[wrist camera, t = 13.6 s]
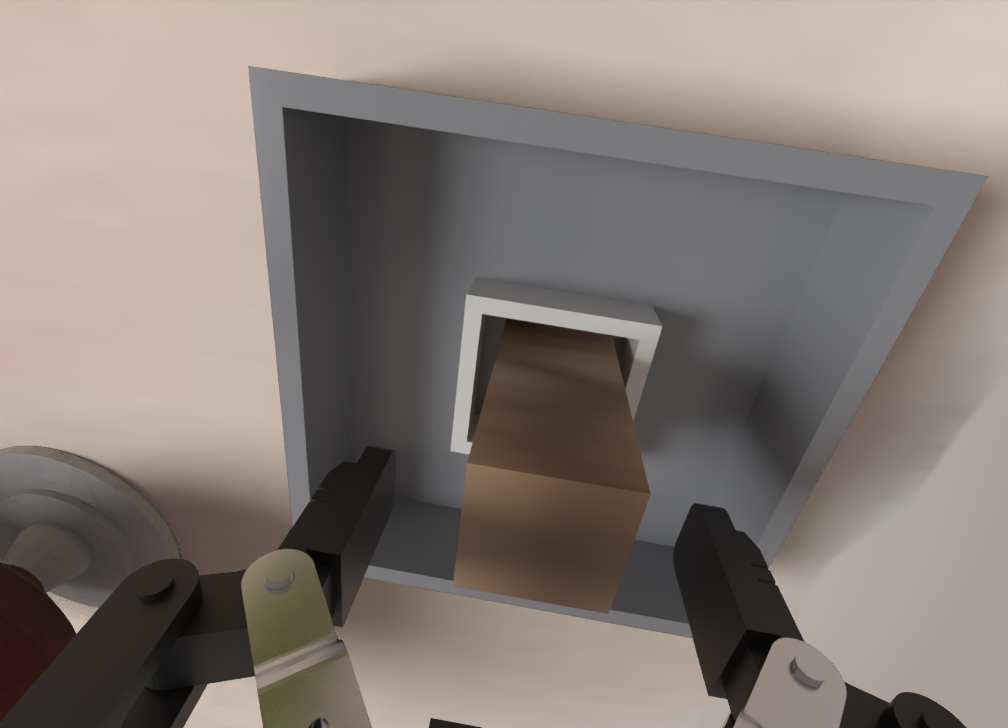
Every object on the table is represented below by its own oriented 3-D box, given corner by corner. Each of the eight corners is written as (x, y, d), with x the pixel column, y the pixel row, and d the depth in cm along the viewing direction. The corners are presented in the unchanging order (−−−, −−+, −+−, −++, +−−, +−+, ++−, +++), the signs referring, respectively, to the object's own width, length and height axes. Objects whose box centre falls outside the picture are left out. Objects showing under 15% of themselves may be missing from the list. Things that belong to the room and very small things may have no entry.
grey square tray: (343, 485, 25) (296, 565, 20) (333, 81, 16) (248, 66, 12) (695, 547, 24) (726, 644, 20) (867, 160, 16) (987, 176, 11)
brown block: (495, 403, 20) (452, 586, 12) (507, 315, 18) (466, 463, 10) (589, 418, 20) (608, 614, 12) (611, 331, 18) (650, 494, 10)
